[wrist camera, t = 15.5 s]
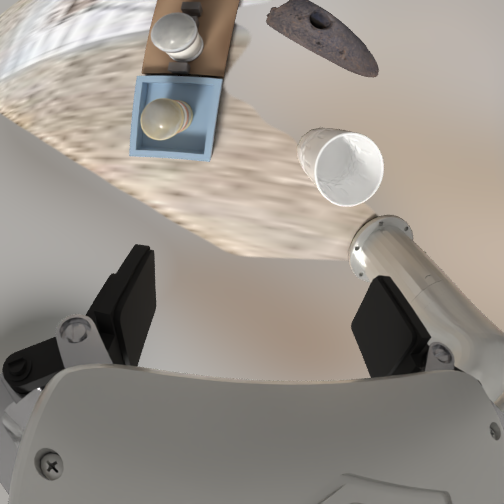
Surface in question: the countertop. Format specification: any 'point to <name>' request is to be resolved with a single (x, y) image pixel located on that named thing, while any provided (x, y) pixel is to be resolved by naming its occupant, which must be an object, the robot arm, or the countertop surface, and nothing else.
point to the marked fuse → (166, 118)
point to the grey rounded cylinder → (178, 37)
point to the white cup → (341, 164)
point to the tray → (196, 135)
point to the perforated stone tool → (323, 35)
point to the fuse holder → (209, 28)
